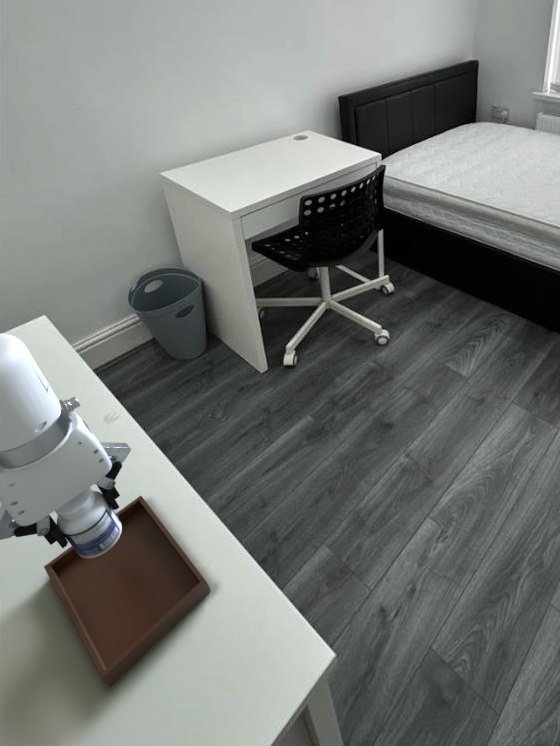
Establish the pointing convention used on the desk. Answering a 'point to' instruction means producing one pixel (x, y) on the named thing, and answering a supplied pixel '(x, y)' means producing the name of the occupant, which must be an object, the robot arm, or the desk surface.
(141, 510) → the tray
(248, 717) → the desk surface
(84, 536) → the pill bottle
